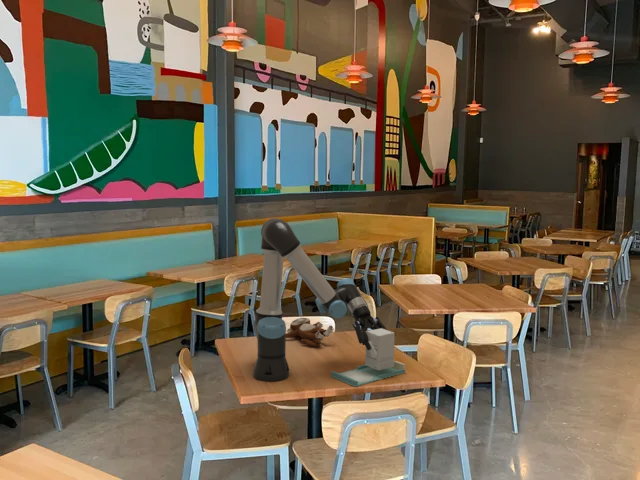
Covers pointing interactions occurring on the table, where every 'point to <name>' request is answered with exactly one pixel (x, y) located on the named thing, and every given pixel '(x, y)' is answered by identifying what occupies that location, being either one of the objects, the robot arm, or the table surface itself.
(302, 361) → the table surface
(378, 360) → the supplement box
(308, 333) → the toy
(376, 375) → the teal flat tray
